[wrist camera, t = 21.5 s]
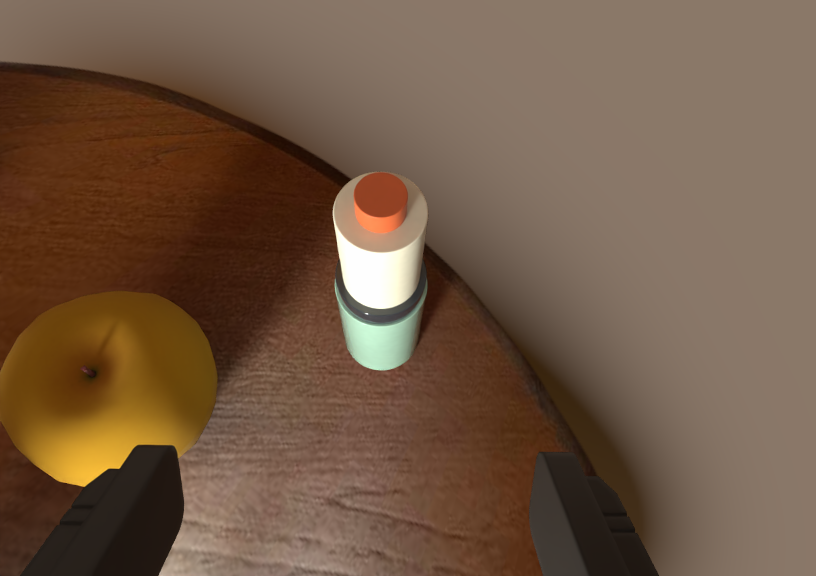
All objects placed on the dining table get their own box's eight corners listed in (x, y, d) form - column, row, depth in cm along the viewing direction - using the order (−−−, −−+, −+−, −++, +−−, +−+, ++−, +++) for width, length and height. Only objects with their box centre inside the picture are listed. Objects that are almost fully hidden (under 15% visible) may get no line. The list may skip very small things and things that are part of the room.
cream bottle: (432, 258, 36) (447, 177, 27) (398, 322, 34) (402, 255, 26) (365, 227, 36) (360, 138, 28) (328, 288, 35) (311, 212, 26)
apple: (192, 517, 40) (124, 513, 30) (30, 459, 41) (-91, 436, 31) (264, 352, 45) (228, 298, 35) (118, 304, 46) (40, 238, 36)
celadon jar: (430, 319, 47) (444, 255, 36) (397, 383, 45) (402, 335, 34) (366, 289, 48) (361, 216, 37) (331, 349, 45) (314, 292, 34)
